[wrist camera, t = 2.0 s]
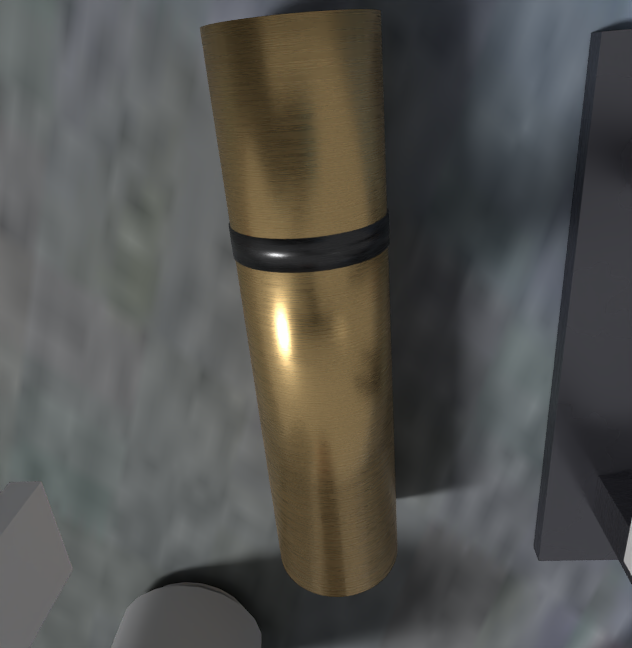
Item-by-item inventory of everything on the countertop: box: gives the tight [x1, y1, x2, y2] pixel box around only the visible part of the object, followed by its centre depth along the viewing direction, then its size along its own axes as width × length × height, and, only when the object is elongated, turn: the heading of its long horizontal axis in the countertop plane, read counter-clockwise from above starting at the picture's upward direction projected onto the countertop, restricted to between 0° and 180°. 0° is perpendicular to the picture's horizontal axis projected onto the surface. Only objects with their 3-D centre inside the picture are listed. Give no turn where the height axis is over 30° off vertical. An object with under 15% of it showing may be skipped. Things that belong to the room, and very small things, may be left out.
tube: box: [200, 9, 397, 597], centre depth 20 cm, size 20×5×5 cm, turn 5°
